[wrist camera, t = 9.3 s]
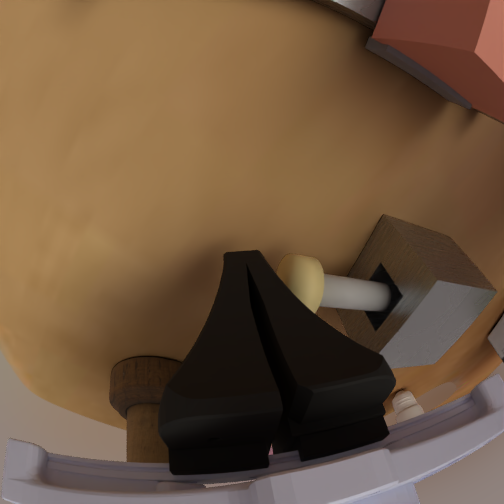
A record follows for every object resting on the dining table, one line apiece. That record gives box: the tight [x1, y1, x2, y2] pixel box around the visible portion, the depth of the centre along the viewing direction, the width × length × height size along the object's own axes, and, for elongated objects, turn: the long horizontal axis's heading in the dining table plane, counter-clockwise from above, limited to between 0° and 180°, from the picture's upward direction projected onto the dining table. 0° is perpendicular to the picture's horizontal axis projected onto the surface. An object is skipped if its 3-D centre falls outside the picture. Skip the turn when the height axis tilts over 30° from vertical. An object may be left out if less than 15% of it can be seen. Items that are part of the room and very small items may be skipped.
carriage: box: [365, 0, 504, 122], centre depth 7 cm, size 6×4×6 cm
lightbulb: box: [392, 390, 425, 423], centre depth 26 cm, size 6×6×11 cm
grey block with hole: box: [336, 214, 497, 368], centre depth 15 cm, size 6×6×5 cm
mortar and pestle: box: [109, 357, 182, 463], centre depth 14 cm, size 7×6×18 cm
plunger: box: [276, 253, 391, 313], centre depth 13 cm, size 5×3×3 cm, turn 72°
